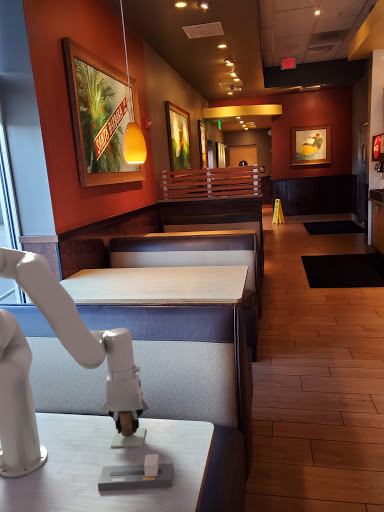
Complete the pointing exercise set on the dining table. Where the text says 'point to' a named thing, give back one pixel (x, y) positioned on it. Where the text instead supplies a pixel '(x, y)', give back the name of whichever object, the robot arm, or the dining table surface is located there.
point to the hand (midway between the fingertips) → (127, 429)
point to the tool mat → (129, 439)
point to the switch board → (134, 477)
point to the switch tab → (151, 465)
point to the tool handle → (126, 423)
